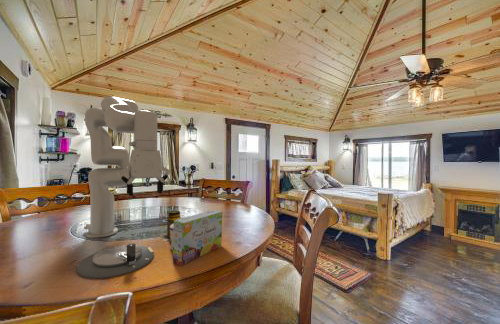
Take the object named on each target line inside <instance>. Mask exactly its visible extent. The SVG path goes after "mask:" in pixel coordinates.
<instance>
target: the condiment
mask: <svg viewBox="0 0 500 324" xmlns="http://www.w3.org/2000/svg"><path fill="white" fill-rule="evenodd" d="M167 214H168V215H167V220H166V221H167V222H166V225H167V228H166V233H167V234H166V235H165V234H163V235H160V237H161V239H162V240H163V241H164V242H166V241H170V229H169V227H170V225H172V224H174V220H178V219H181V218H182V217H181V212H180V210H170V211H168V213H167Z"/></svg>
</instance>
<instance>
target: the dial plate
mask: <svg viewBox="0 0 500 324" xmlns="http://www.w3.org/2000/svg"><path fill="white" fill-rule="evenodd" d="M136 245H137V246H140V247H141V248H142V255H141V256H140V257H139V258H138V259H137V260H136V263H134V264H132V265H127V264H125V265H121V266H116V267H107V268H103V267H97V266H94V265H93V256H94V255H95V254H96V253H98V252H99V251H97V252H94V253H93V254H90V255H88V256H86V257H85V258H83V259H82V260H81V261H80V262H79V263H78V265H77V267H76V270H77V274H78V275H80V276H81V277H84V278H87V279H106V278H107V279H108V278H113V277H114V278H115V277H119V276H122V275H126V274H130V273H133V272H135V271H138V270H140V269H142V268H143V267H145V266H147V265H148V264H150V262H152V260H153V259H154V255H155V252H154V250H153V249H152V247H150V246H145V245H139V244H136Z"/></svg>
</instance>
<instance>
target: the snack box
mask: <svg viewBox="0 0 500 324" xmlns="http://www.w3.org/2000/svg"><path fill="white" fill-rule="evenodd" d="M222 233H223V211H220V210H216V209H211V210H209V211H205V212H201V213H197V214H194V215H193V214H192V215H190V216H187V217H186V216H185V217H183V218H182V217H181V219H178V220H174V227H173V250H172V263H175V264H177V265H179V266H184V265H186V264H188V263H190V262H191V261H192V262H193V261H194V260H196V259H198V258H200V257H202V256H204V255H207V254H208V253H210V252H213V251H214V250H216V249H218V248H221V247H222V241H223V240H222V237H223V234H222Z"/></svg>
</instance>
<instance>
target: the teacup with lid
mask: <svg viewBox="0 0 500 324" xmlns="http://www.w3.org/2000/svg"><path fill="white" fill-rule="evenodd" d="M173 227H174V224H172V225H170V227H169V229H170V240H169V249H170V250H171V251H173Z"/></svg>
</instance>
